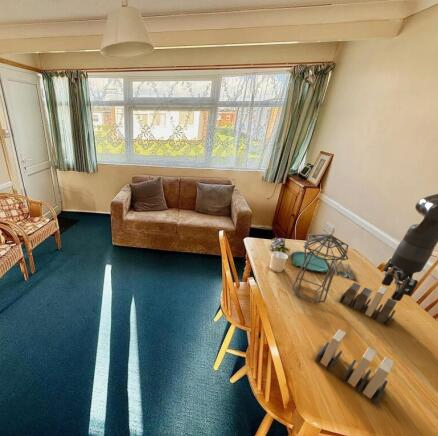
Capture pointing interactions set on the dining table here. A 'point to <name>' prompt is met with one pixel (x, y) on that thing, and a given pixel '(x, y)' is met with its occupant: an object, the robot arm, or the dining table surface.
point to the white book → (376, 301)
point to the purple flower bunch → (279, 243)
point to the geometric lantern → (333, 240)
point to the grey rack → (362, 298)
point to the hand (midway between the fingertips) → (389, 291)
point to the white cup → (278, 261)
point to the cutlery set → (316, 263)
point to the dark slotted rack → (358, 367)
